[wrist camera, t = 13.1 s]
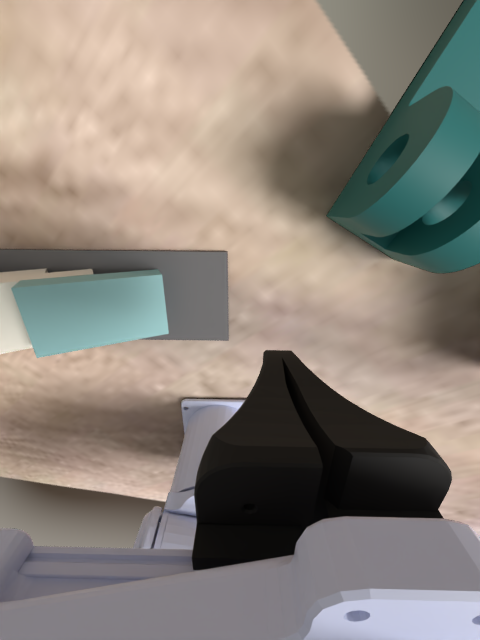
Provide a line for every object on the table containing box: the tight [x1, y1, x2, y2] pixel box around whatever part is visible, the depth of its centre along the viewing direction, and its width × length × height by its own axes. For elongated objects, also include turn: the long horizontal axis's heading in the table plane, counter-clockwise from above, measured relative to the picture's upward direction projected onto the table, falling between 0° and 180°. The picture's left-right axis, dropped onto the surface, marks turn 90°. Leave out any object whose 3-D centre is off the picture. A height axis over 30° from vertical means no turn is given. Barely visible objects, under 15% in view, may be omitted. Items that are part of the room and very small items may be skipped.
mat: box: [0, 249, 229, 341], centre depth 22 cm, size 8×24×1 cm, turn 90°
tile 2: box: [0, 269, 93, 354], centre depth 19 cm, size 5×2×9 cm
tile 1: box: [11, 269, 169, 358], centre depth 19 cm, size 5×2×9 cm
